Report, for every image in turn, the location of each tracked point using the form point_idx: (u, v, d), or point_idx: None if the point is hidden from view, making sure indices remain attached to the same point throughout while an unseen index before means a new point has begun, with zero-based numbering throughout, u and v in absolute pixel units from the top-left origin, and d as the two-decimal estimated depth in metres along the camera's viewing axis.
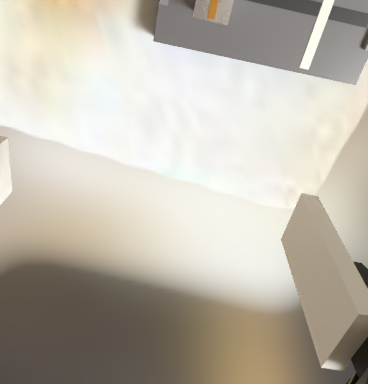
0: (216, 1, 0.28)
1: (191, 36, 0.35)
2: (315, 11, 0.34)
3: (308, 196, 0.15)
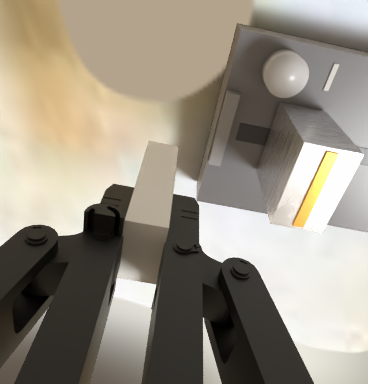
0: (309, 207, 0.18)
1: (250, 196, 0.26)
2: None
3: (168, 146, 0.17)
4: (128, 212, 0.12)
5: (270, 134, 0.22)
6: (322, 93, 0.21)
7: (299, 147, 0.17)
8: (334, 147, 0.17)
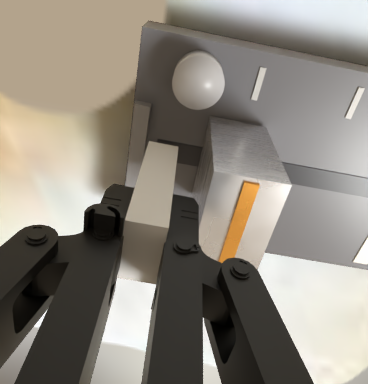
0: (233, 248, 0.15)
1: None
2: None
3: (168, 146, 0.17)
4: (128, 212, 0.12)
5: (201, 154, 0.19)
6: (250, 103, 0.18)
7: (211, 176, 0.13)
8: (255, 175, 0.13)
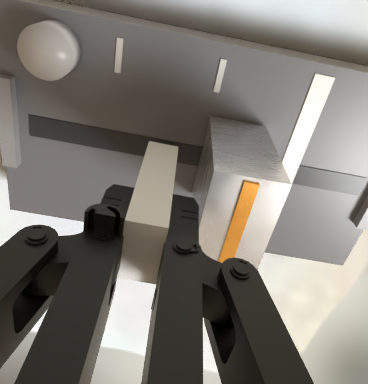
0: (232, 248, 0.15)
1: (70, 203, 0.21)
2: None
3: (168, 146, 0.17)
4: (128, 212, 0.12)
5: (201, 153, 0.19)
6: (115, 76, 0.17)
7: (211, 176, 0.13)
8: (254, 175, 0.13)
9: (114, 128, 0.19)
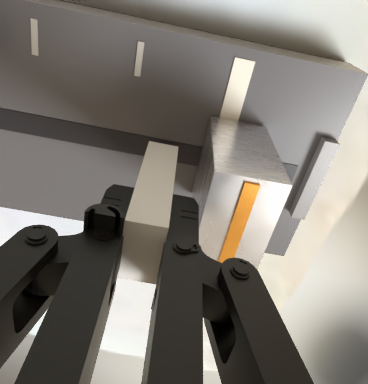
0: (232, 248, 0.15)
1: (3, 191, 0.21)
2: None
3: (168, 146, 0.17)
4: (128, 212, 0.12)
5: (201, 153, 0.19)
6: (33, 59, 0.17)
7: (211, 176, 0.13)
8: (255, 176, 0.13)
9: (38, 113, 0.18)
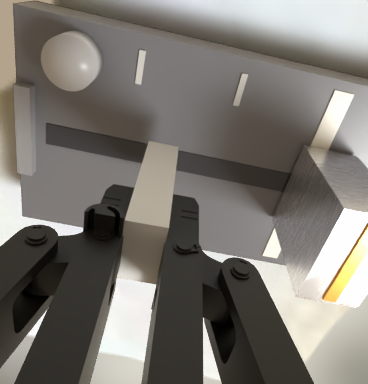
0: (344, 279, 0.15)
1: (83, 211, 0.21)
2: (285, 186, 0.20)
3: (168, 146, 0.17)
4: (128, 212, 0.12)
5: (291, 181, 0.19)
6: (135, 87, 0.17)
7: (336, 212, 0.14)
8: None
9: (131, 139, 0.19)
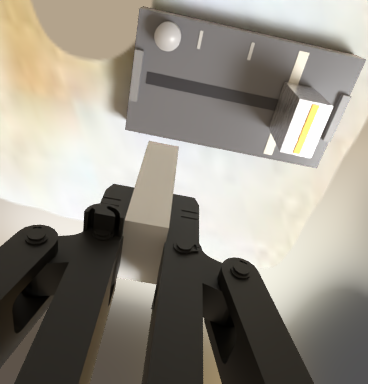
0: (302, 140, 0.31)
1: (161, 126, 0.38)
2: (275, 107, 0.36)
3: (168, 146, 0.17)
4: (128, 212, 0.12)
5: (278, 102, 0.35)
6: (196, 50, 0.33)
7: (296, 102, 0.30)
8: (317, 102, 0.30)
9: (192, 80, 0.35)
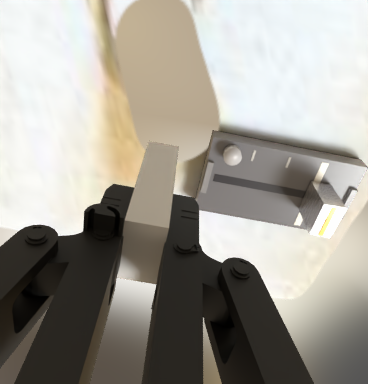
0: (325, 227, 0.46)
1: (221, 207, 0.52)
2: (304, 195, 0.51)
3: (168, 146, 0.17)
4: (128, 212, 0.12)
5: (306, 194, 0.50)
6: (250, 161, 0.48)
7: (321, 205, 0.45)
8: (335, 205, 0.44)
9: (245, 179, 0.50)
